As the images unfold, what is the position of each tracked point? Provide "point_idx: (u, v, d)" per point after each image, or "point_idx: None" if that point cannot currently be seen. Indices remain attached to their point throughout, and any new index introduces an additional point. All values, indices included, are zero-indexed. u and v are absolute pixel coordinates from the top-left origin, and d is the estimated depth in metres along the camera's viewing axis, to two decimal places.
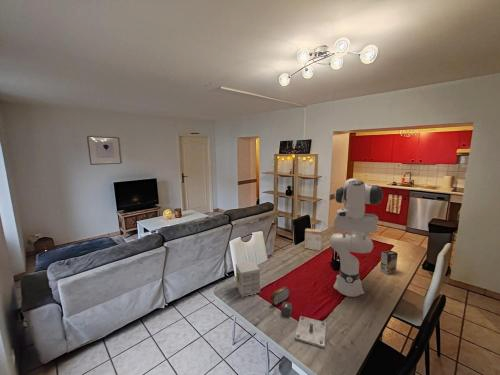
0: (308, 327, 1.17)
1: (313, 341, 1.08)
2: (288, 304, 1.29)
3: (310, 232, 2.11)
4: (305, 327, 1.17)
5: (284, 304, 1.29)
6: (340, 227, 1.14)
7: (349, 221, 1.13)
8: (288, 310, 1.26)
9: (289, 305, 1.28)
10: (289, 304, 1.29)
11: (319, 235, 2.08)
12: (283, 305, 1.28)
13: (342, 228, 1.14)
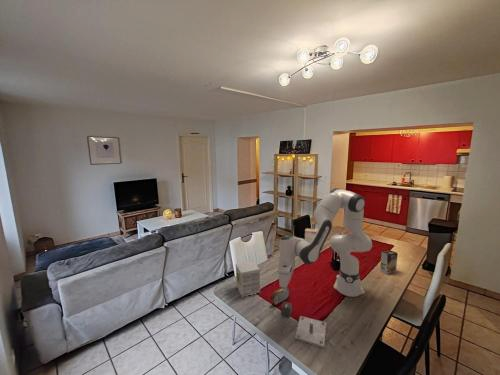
0: (308, 327, 1.17)
1: (313, 341, 1.08)
2: (288, 304, 1.29)
3: (310, 232, 2.11)
4: (305, 327, 1.17)
5: (284, 304, 1.29)
6: (287, 283, 1.19)
7: None
8: (288, 310, 1.26)
9: (289, 305, 1.28)
10: (289, 304, 1.29)
11: None
12: (283, 305, 1.28)
13: None
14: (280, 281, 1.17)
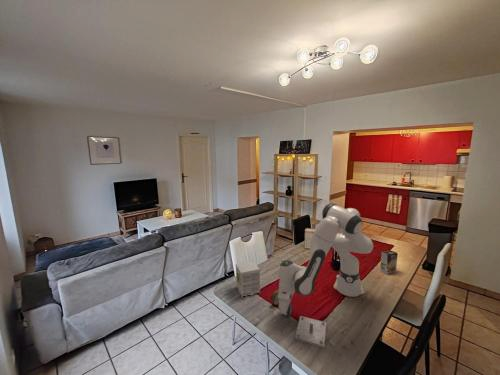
0: (308, 327, 1.17)
1: (313, 341, 1.08)
2: None
3: (310, 232, 2.11)
4: (305, 327, 1.17)
5: None
6: (287, 309, 1.21)
7: None
8: (288, 310, 1.26)
9: (289, 305, 1.28)
10: (289, 304, 1.29)
11: None
12: None
13: (287, 309, 1.22)
14: (280, 308, 1.19)
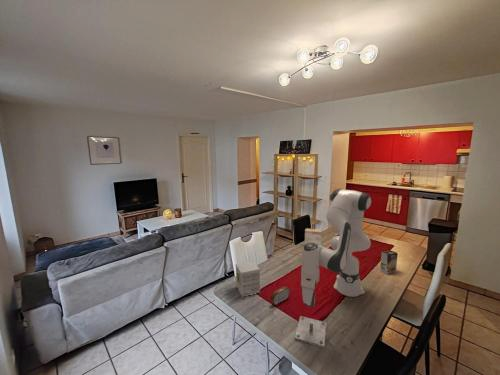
0: (308, 327, 1.17)
1: (313, 341, 1.08)
2: None
3: (310, 232, 2.11)
4: (305, 327, 1.17)
5: None
6: None
7: None
8: (312, 300, 1.11)
9: None
10: None
11: (319, 235, 2.08)
12: None
13: None
14: (304, 296, 1.04)
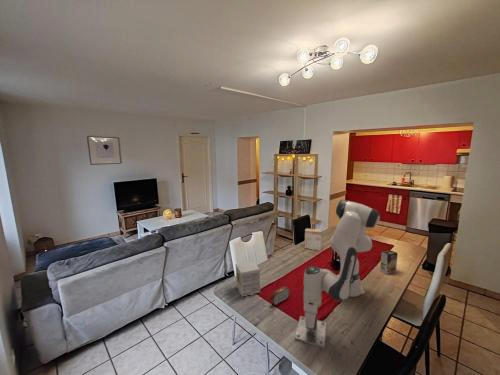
0: None
1: (313, 341, 1.08)
2: None
3: (310, 232, 2.11)
4: (305, 327, 1.17)
5: None
6: None
7: None
8: None
9: None
10: None
11: (319, 235, 2.08)
12: None
13: None
14: (306, 321, 1.05)
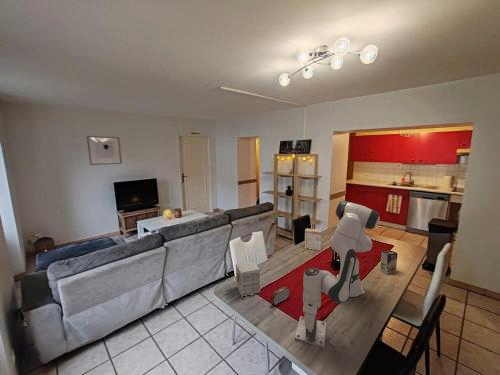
0: None
1: (313, 341, 1.08)
2: None
3: (310, 232, 2.11)
4: (305, 327, 1.17)
5: None
6: None
7: None
8: (314, 327, 1.12)
9: None
10: None
11: (319, 235, 2.08)
12: None
13: None
14: (306, 322, 1.05)
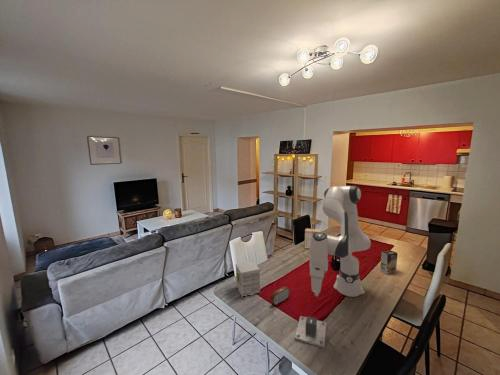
0: None
1: (313, 341, 1.08)
2: (313, 319, 1.15)
3: (310, 232, 2.11)
4: (305, 327, 1.17)
5: (308, 319, 1.15)
6: None
7: None
8: (314, 327, 1.12)
9: (314, 320, 1.14)
10: (314, 319, 1.15)
11: None
12: (307, 321, 1.14)
13: None
14: (313, 286, 1.04)
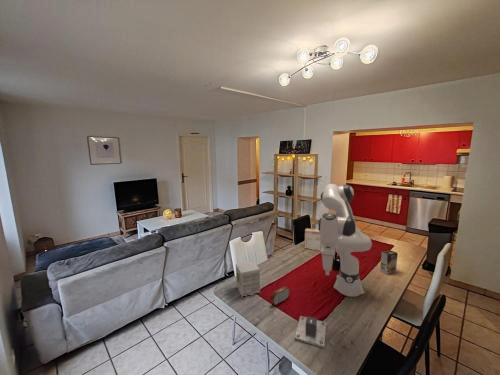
0: None
1: (313, 341, 1.08)
2: (313, 319, 1.15)
3: (310, 232, 2.11)
4: (305, 327, 1.17)
5: (308, 319, 1.15)
6: None
7: None
8: (314, 327, 1.12)
9: (314, 320, 1.14)
10: (314, 319, 1.15)
11: (319, 235, 2.08)
12: (307, 321, 1.14)
13: None
14: (324, 263, 1.07)
